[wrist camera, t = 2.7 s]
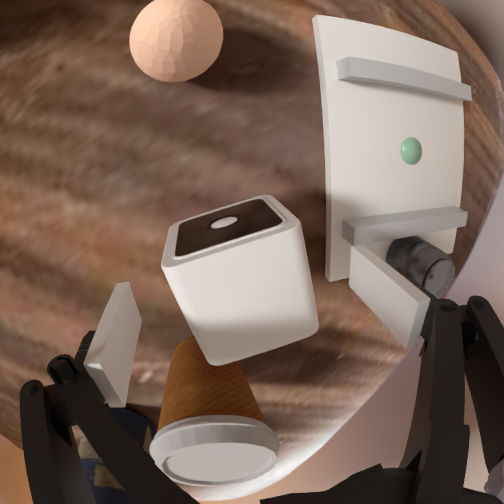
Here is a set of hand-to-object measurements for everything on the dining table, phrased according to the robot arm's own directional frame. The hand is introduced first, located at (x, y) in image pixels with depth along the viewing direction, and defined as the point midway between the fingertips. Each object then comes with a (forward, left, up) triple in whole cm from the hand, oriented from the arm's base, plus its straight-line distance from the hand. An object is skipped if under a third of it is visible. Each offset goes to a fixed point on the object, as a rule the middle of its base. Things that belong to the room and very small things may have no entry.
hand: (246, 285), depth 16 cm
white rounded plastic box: (0, 0, -7) cm, 7 cm away
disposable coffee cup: (+12, -4, -7) cm, 14 cm away
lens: (+3, +16, -6) cm, 17 cm away
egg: (-14, -2, -7) cm, 16 cm away
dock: (-6, +16, -7) cm, 18 cm away
